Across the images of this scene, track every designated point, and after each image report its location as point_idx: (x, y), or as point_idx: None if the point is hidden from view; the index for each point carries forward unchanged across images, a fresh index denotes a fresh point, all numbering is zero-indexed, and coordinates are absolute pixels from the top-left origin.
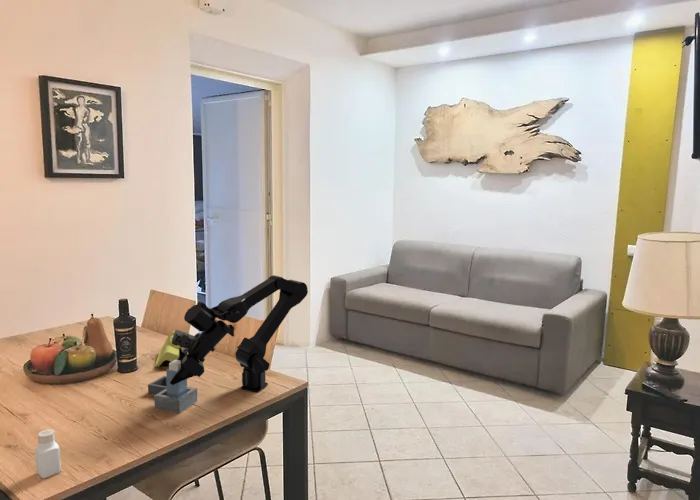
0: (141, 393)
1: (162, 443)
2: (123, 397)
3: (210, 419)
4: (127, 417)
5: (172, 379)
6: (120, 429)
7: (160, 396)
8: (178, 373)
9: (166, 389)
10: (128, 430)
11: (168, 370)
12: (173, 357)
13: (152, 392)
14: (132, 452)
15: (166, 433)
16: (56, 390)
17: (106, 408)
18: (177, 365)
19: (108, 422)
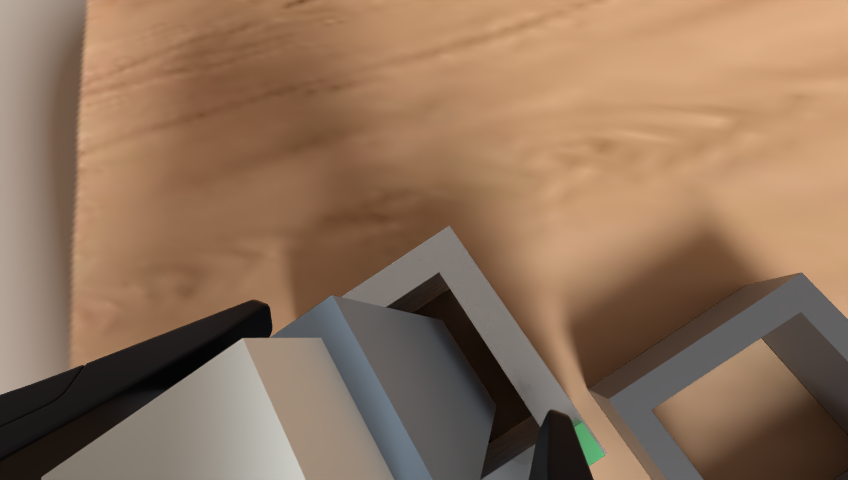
0: (787, 248)
1: (98, 178)
2: (769, 130)
3: None
4: (442, 102)
5: (201, 320)
6: (335, 57)
7: (402, 259)
8: (49, 390)
9: (513, 348)
10: (302, 84)
11: (306, 320)
12: None
13: (720, 305)
14: (125, 69)
15: (157, 217)
16: None
17: (633, 28)
18: (69, 464)
19: (444, 22)
